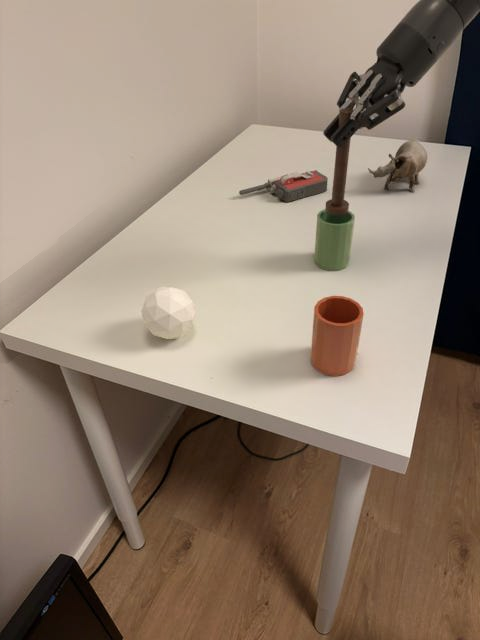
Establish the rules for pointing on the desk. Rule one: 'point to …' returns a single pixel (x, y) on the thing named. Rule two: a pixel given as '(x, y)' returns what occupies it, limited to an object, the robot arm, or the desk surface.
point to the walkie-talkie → (293, 185)
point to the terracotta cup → (336, 335)
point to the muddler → (340, 174)
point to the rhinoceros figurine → (404, 164)
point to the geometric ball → (168, 312)
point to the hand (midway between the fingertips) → (331, 140)
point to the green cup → (333, 240)
